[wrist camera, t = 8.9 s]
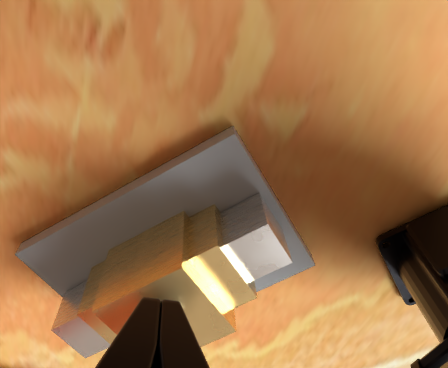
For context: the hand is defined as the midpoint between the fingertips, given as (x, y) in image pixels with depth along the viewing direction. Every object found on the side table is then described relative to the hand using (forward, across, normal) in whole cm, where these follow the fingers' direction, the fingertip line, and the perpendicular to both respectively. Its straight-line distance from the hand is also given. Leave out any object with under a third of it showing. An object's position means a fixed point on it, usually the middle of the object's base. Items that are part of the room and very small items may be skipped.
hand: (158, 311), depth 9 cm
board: (+13, -1, +9) cm, 16 cm away
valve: (+13, -1, +9) cm, 16 cm away
